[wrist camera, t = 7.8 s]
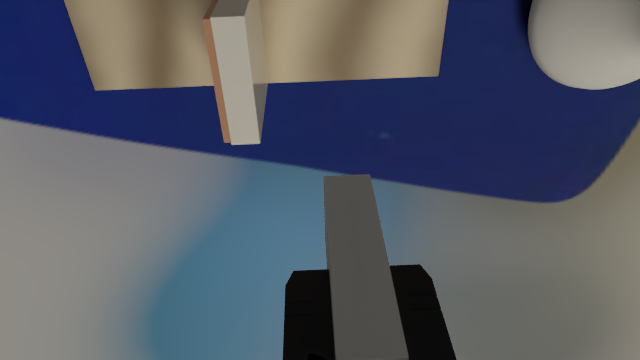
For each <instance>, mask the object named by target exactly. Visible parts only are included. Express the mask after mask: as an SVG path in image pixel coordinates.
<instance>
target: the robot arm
mask: <svg viewBox="0 0 640 360" xmlns="http://www.w3.org/2000/svg"><path fill="white" fill-rule="evenodd" d="M324 207H325V239H326V240H325V241H326V257H327V270H305V271H293V273H292V275H291V277H290V278H289V280H288V282H287V284H286V289H285V319H284V344H283V360H456V357H455V353H454V350H453V347H452V343H451V340H450V337H449V334H448V331H447V327H446V324H445V321H444V317H443V314H442V311H441V307H440V304H439V301H438V298H437V294H436V291H435V288H434V284H433V281H432V278H431V277H430V276H429V275H428V273H427V272H426V271H425V270H424V269H423V268H422V266H421V265H397V266H389V262H388V257H387V253H386V248H385V244H384V238H383V234H382V229H381V225H380V220H379V215H378V210H377V205H376V201H375V196H374V191H373V187H372V182H371V177H370V174H367V175H342V176H324Z"/></svg>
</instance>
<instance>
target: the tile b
mask: <svg viewBox="0 0 640 360" xmlns="http://www.w3.org/2000/svg"><path fill="white" fill-rule="evenodd" d="M202 21H203V27H204V33H205V38H206V44H207V49H208V55H209V61H210V66H211V72H212V77H213V83H214V88H215V94H216V100H217V105H218V111H219V116H220V122H221V127H222V133H223V139H224V143H230V142H231V145H241V144H260V141H261V133H262V125H263V117H264V109H265V101H266V93H267V85H268V81H267V71H266V61H265V52H264V42H263V32H262V23H261V13H260V3H259V0H212V2H211V4H210V6H209V8H208V10H207V11H206V13H205V15H204V17H203V19H202Z"/></svg>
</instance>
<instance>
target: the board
mask: <svg viewBox="0 0 640 360" xmlns="http://www.w3.org/2000/svg"><path fill="white" fill-rule="evenodd" d="M64 2H65V5H66V8H67V11H68V14H69V17H70V19H71V22H72V25H73V28H74V31H75V34H76V37H77V40H78V42H79V45H80V48H81V51H82V54H83V57H84V60H85V62H86V65H87V68H88V71H89V74H90V77H91V80H92V82H93V85H94V88H95V90H119V89H143V88H166V87H190V86H214V83H213V77H212V72H211V66H210V61H209V55H208V49H207V44H206V38H205V33H204V27H203V21H202V19H203V17H204V15H205V13H206V11H207V10H208V8H209V6H210V4H211V2H212V0H64ZM259 3H260V13H261V23H262V32H263V42H264V52H265V61H266V71H267V81H268V83H285V82H308V81H332V80H356V79H380V78H403V77H427V76H438V74H439V66H440V59H441V52H442V44H443V37H444V29H445V22H446V15H447V7H448V0H259Z"/></svg>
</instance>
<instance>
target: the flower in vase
mask: <svg viewBox="0 0 640 360" xmlns="http://www.w3.org/2000/svg"><path fill="white" fill-rule="evenodd" d="M528 39H529V45H530V49H531V52H532V55H533V57H534V59H535V61H536V63H537V64H538V66H539V67H540V68H541V70H542V71H543V72H544V73H545V74H547V75H548V76H549V77H550V78H552V79H553V80H555V81H557V82H559V83H561V84H564V85H567V86H571V87H575V88H582V89H606V88H613V87H617V86H621V85H624V84H627V83H630V82H633V81H635V80H637V79H640V0H533V1H532V5H531V9H530V13H529V20H528Z"/></svg>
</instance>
